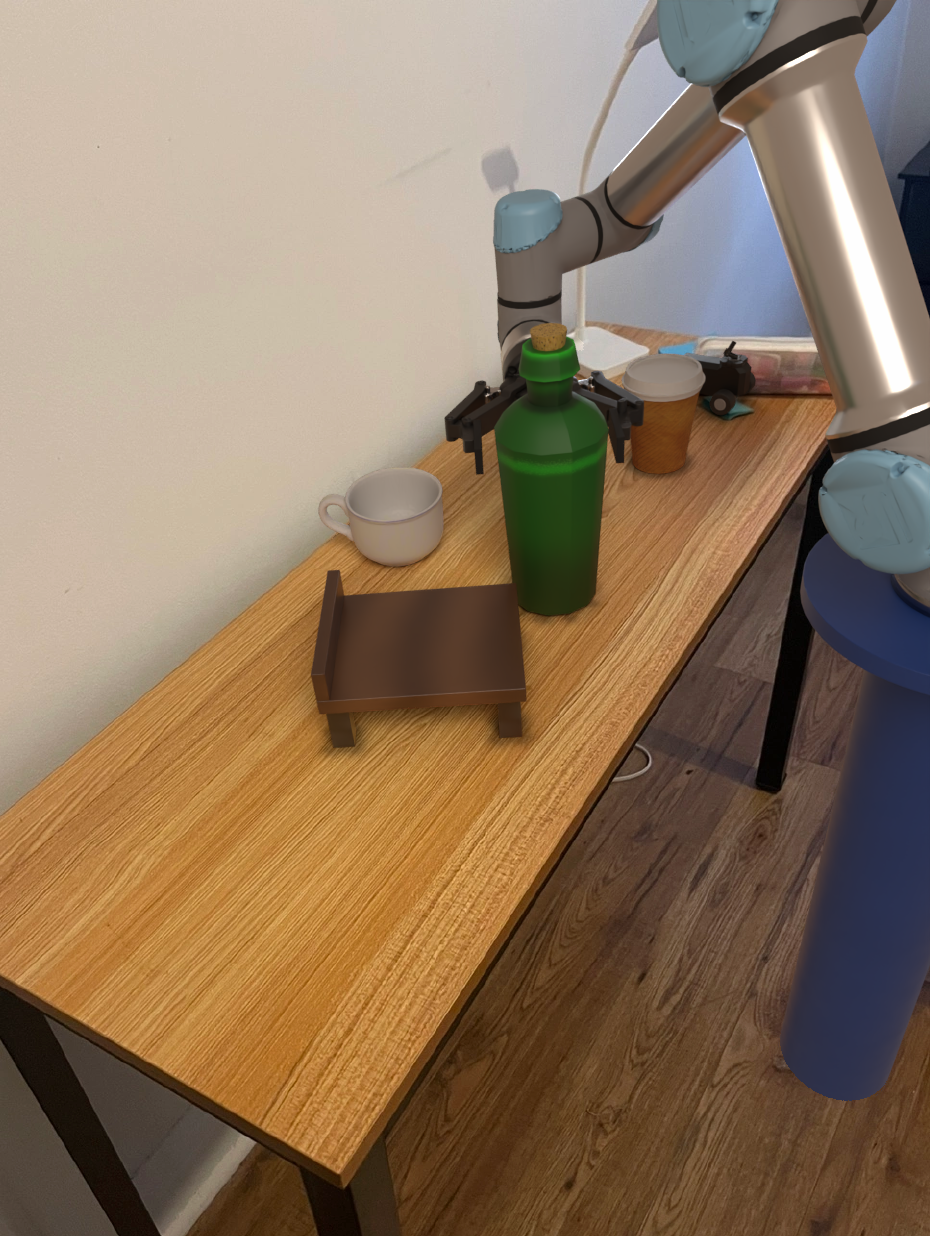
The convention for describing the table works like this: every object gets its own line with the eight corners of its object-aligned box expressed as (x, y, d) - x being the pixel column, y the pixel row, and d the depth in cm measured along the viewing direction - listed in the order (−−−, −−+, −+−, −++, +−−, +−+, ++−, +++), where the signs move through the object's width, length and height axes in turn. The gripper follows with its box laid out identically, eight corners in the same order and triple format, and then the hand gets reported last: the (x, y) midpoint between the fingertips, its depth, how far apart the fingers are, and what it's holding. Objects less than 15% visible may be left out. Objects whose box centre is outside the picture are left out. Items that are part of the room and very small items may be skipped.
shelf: (518, 632, 102) (514, 556, 96) (528, 740, 90) (524, 660, 84) (341, 644, 104) (327, 570, 98) (327, 752, 92) (310, 674, 86)
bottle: (581, 558, 111) (581, 299, 93) (622, 610, 103) (631, 338, 85) (489, 580, 110) (471, 322, 92) (523, 635, 102) (511, 364, 84)
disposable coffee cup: (690, 440, 129) (697, 348, 121) (705, 477, 122) (714, 381, 114) (614, 447, 130) (616, 356, 122) (625, 484, 123) (628, 389, 115)
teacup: (458, 530, 118) (452, 468, 113) (433, 582, 111) (426, 518, 106) (346, 523, 122) (335, 463, 117) (314, 573, 115) (302, 511, 109)
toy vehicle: (731, 421, 132) (738, 355, 126) (626, 401, 140) (628, 338, 134) (756, 396, 137) (764, 331, 131) (653, 378, 144) (656, 316, 139)
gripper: (646, 390, 116) (678, 480, 100) (428, 409, 118) (424, 500, 102) (649, 325, 111) (683, 408, 95) (422, 346, 114) (417, 431, 97)
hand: (549, 456), depth 99 cm, fingers open, 13 cm apart
